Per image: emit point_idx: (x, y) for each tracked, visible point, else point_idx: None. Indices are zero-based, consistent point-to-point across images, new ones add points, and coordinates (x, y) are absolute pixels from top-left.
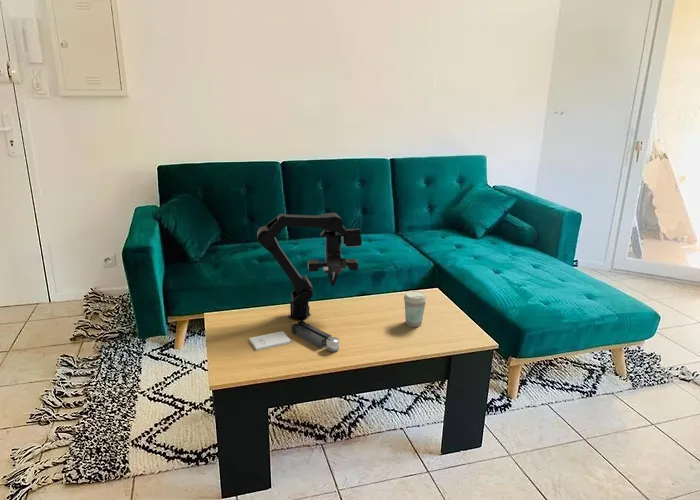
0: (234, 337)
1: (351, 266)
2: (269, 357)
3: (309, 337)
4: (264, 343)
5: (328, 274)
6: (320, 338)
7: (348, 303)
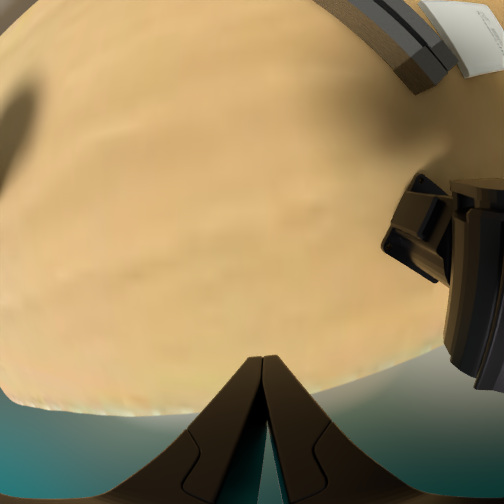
0: None
1: None
2: None
3: None
4: (481, 16)
5: (397, 500)
6: None
7: (189, 375)
